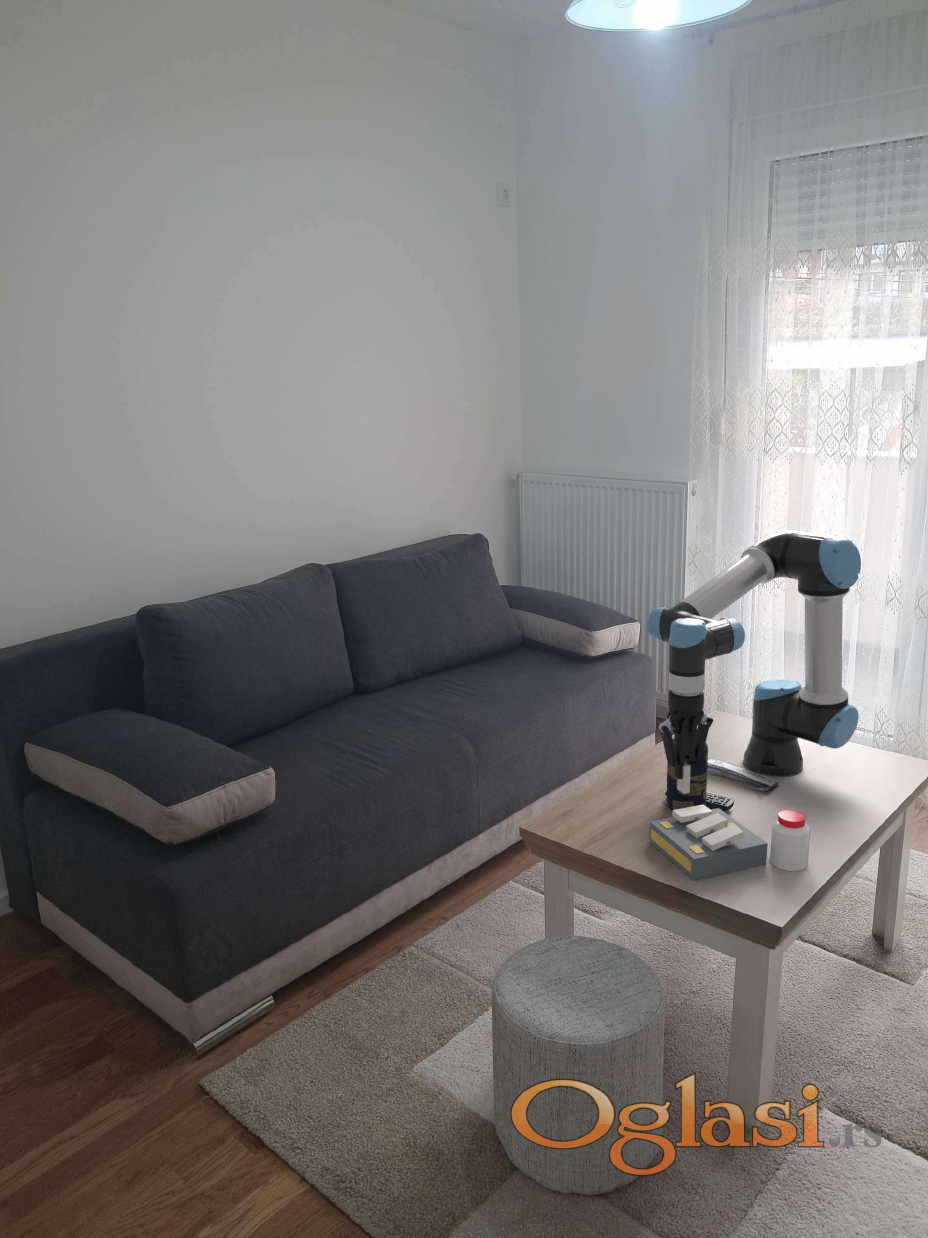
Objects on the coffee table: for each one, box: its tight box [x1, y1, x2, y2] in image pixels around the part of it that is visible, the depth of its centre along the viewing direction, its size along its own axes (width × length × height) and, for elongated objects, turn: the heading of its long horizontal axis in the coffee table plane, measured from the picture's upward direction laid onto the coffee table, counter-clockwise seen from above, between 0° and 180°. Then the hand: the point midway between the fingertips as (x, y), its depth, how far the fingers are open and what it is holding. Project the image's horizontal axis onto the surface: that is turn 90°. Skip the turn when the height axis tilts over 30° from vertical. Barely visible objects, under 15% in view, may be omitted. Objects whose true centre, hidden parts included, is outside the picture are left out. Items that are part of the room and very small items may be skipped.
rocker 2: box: [686, 812, 728, 838], centre depth 205 cm, size 8×4×2 cm, turn 109°
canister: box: [666, 738, 709, 811], centre depth 226 cm, size 10×10×18 cm
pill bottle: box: [769, 809, 811, 872], centre depth 201 cm, size 8×8×11 cm
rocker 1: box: [671, 805, 712, 823], centre depth 211 cm, size 8×4×2 cm, turn 109°
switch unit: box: [649, 807, 769, 881], centre depth 206 cm, size 18×18×5 cm
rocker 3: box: [702, 824, 744, 851], centre depth 200 cm, size 8×4×2 cm, turn 109°
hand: (683, 790), depth 208 cm, fingers closed
